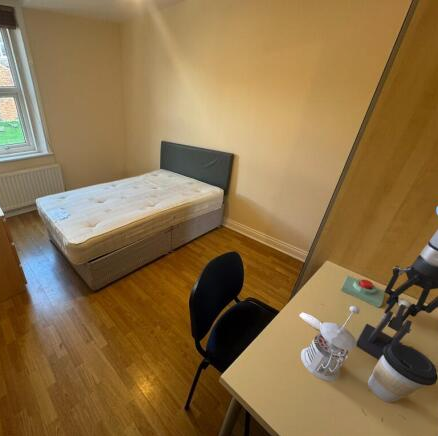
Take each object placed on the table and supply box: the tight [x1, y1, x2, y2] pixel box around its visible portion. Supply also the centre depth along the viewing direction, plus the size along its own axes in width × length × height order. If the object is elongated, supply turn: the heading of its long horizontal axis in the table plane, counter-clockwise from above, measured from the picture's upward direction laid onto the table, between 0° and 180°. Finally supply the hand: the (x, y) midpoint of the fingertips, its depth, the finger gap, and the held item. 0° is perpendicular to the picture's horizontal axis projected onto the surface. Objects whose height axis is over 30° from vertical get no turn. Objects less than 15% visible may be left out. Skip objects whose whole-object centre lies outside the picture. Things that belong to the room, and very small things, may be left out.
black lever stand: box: [356, 310, 413, 361], centre depth 70 cm, size 11×9×13 cm
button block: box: [340, 275, 386, 309], centre depth 91 cm, size 12×9×4 cm
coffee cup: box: [367, 343, 438, 404], centre depth 59 cm, size 9×9×15 cm
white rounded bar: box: [299, 312, 324, 331], centre depth 80 cm, size 3×8×3 cm, turn 36°
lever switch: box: [387, 297, 412, 332], centre depth 71 cm, size 15×3×3 cm, turn 128°
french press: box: [300, 305, 360, 382], centre depth 62 cm, size 10×12×25 cm
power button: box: [360, 279, 374, 289], centre depth 90 cm, size 4×4×2 cm
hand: (394, 315), depth 77 cm, fingers closed on lever switch, 3 cm apart
